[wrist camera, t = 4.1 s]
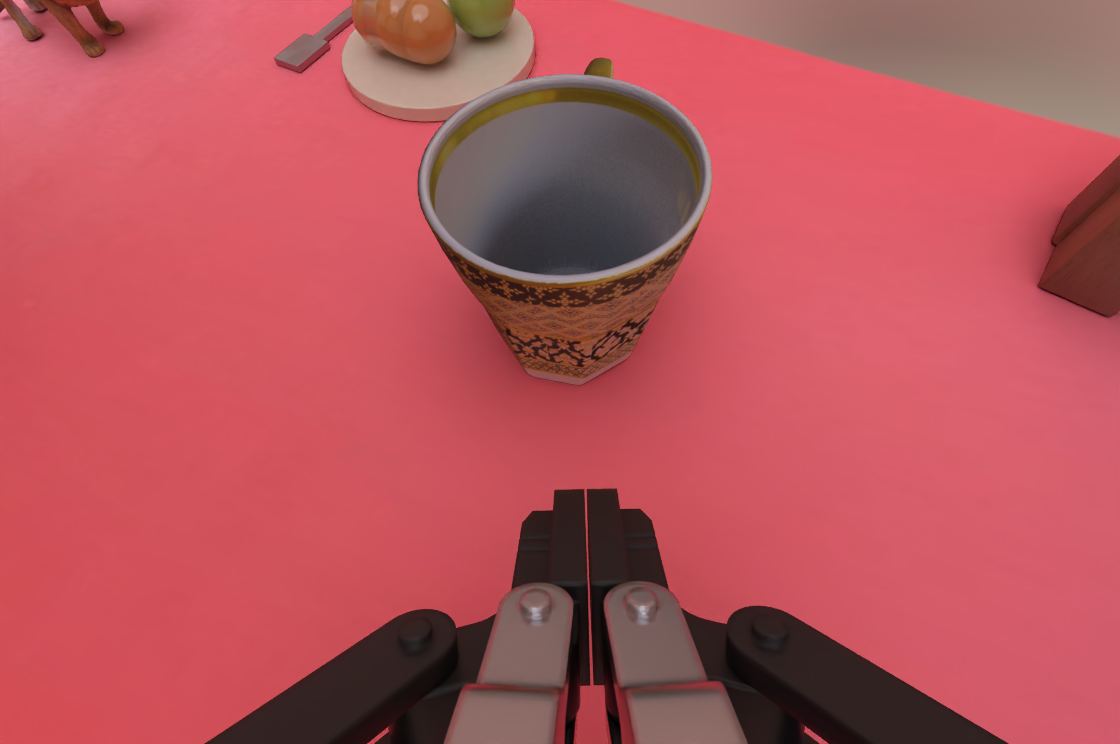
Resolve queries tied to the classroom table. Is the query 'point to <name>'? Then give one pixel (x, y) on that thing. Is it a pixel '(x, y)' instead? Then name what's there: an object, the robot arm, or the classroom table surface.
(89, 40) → the lion figurine
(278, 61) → the metal spatula
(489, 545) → the classroom table surface
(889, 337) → the classroom table surface
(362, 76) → the lunch plate
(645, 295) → the ceramic cup
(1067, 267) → the wooden toy
